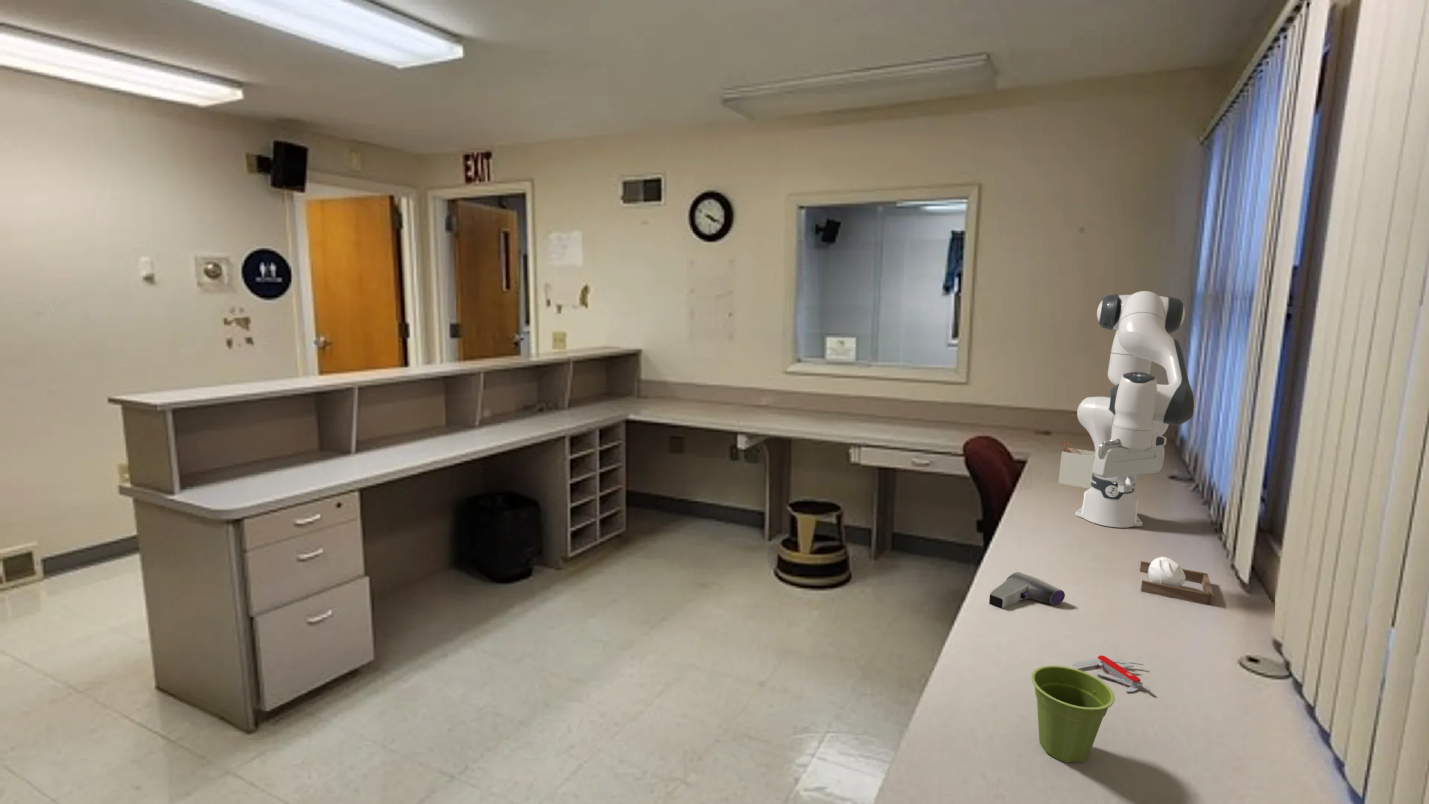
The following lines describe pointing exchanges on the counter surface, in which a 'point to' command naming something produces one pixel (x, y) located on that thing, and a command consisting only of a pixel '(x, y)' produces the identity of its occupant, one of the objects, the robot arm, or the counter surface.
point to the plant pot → (1069, 710)
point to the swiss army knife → (1116, 671)
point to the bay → (1178, 592)
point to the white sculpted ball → (1166, 572)
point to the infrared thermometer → (1024, 591)
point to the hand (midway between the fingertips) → (1124, 491)
